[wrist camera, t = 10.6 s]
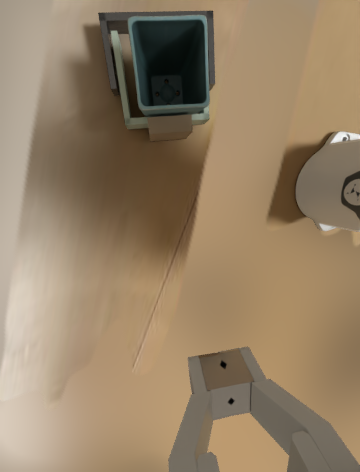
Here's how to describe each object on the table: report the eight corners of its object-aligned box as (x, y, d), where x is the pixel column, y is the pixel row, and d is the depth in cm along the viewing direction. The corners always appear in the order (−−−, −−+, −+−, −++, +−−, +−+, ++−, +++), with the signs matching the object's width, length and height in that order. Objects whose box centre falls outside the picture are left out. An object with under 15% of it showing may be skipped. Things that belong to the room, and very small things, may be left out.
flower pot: (143, 127, 32) (138, 110, 23) (134, 61, 29) (126, 15, 20) (195, 124, 33) (210, 106, 24) (192, 59, 30) (207, 13, 21)
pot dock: (208, 24, 29) (213, 10, 26) (210, 90, 31) (215, 83, 29) (103, 26, 27) (98, 12, 25) (114, 95, 30) (110, 88, 28)
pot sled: (200, 42, 29) (212, 10, 23) (205, 137, 33) (215, 129, 27) (115, 45, 28) (105, 12, 22) (130, 142, 32) (124, 135, 26)
